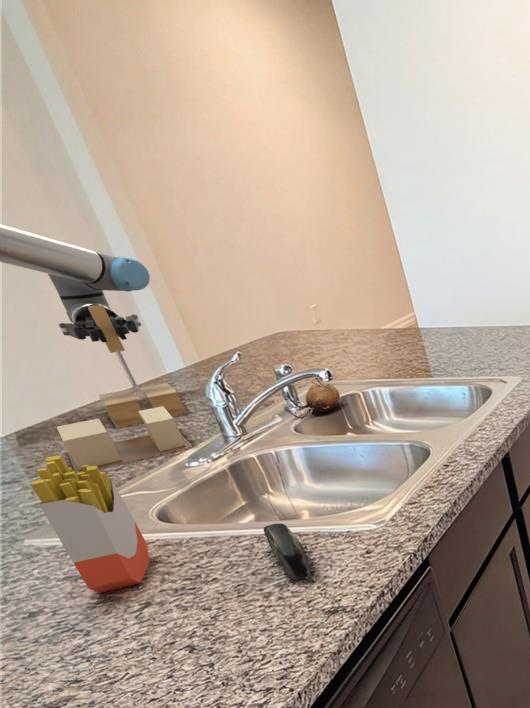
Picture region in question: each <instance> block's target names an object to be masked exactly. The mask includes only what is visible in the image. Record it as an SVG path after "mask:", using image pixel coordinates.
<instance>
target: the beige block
mask: <svg viewBox="0 0 530 708" xmlns="http://www.w3.org/2000/svg"><path fill="white" fill-rule="evenodd" d="M56 429H57V431H58V434H59V436H60V438H61V440H62V442H63V445H64V446H65V448H66V449H67V451H68V453H70V455H71V457H72V459H73V460H74V462H75V464H76V466H77V468H78V470H81V469H82V468H81V466H83V465H89V466H98V465H103V464H107V463H111V462H116V461H120V460H121V458H120V456H119V454H118V452H117V450H116V448H115V446H114V444H113V443H114V442H113V439H111V436H110V434H109V432H108V431H107V429H106V428H105V426H104V424H103V423H102V422H101V420H100V418H94V419H90V420H85V421H78V422H74V423H69V424H64V425H59V426H56Z"/></svg>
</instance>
